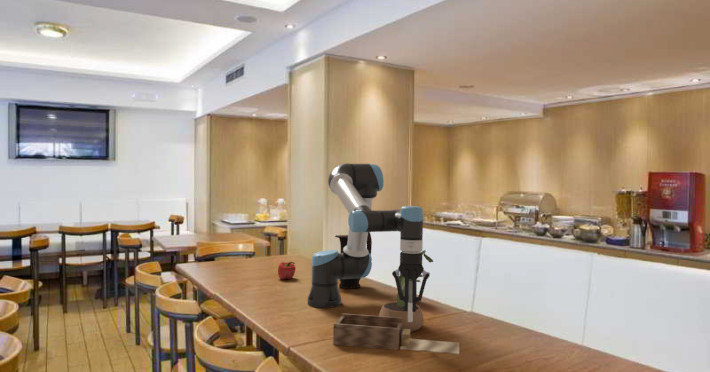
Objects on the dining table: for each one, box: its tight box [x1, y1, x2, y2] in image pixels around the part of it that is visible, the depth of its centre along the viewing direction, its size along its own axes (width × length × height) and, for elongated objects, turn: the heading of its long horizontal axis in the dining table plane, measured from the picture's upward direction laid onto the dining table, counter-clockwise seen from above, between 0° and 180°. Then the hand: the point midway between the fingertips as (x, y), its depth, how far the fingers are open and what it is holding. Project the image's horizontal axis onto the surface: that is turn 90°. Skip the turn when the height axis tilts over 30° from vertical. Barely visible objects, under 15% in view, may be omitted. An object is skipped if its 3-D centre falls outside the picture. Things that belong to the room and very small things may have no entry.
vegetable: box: [277, 261, 296, 280], centre depth 266 cm, size 11×10×10 cm
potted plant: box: [378, 249, 434, 333], centre depth 184 cm, size 22×18×30 cm
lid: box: [399, 329, 460, 355], centre depth 161 cm, size 19×10×5 cm, turn 78°
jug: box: [334, 232, 373, 290], centre depth 247 cm, size 21×18×30 cm
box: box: [332, 313, 403, 351], centre depth 166 cm, size 22×13×7 cm, turn 78°
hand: (410, 320), depth 163 cm, fingers closed
